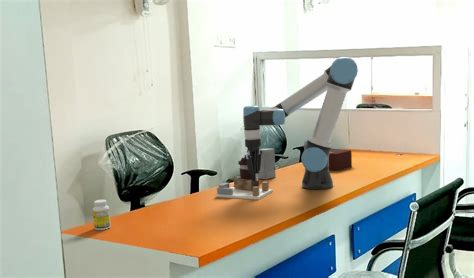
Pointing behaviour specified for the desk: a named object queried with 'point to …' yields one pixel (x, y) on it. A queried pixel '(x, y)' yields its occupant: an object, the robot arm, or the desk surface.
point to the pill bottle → (101, 215)
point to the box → (340, 159)
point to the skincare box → (267, 164)
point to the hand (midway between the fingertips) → (255, 186)
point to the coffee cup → (244, 170)
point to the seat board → (243, 191)
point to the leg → (245, 184)
